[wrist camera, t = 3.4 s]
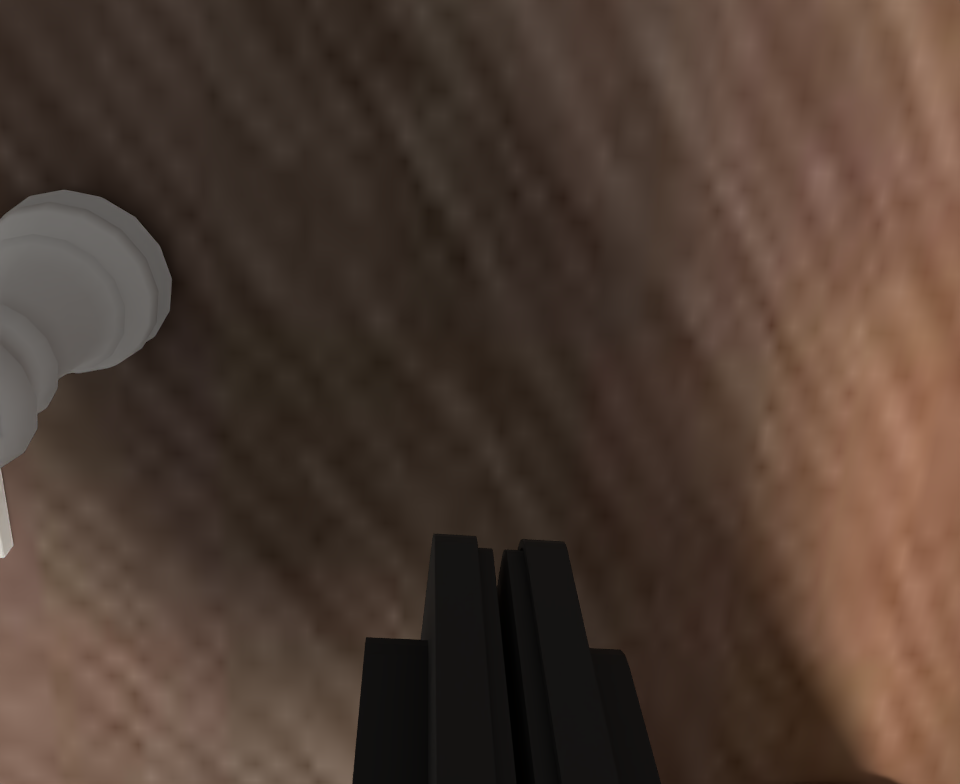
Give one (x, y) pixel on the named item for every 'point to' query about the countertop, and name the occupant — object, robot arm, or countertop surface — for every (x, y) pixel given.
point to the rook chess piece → (70, 300)
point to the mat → (4, 523)
